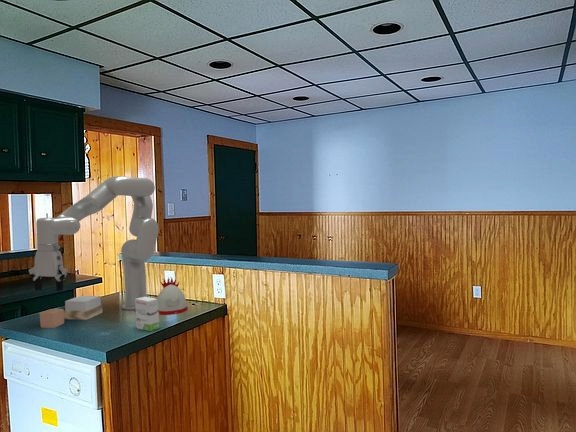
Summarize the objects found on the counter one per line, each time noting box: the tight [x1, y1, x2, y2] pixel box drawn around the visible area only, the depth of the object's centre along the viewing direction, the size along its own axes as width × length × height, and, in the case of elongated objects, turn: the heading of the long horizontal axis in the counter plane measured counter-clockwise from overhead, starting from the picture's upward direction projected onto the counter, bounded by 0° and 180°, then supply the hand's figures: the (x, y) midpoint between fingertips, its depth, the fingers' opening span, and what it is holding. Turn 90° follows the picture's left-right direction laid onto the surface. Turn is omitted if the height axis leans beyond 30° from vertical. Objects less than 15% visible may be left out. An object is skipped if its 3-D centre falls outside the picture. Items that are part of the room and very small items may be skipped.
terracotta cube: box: [39, 308, 65, 329], centre depth 171 cm, size 6×6×6 cm
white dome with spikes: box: [156, 277, 188, 316], centre depth 189 cm, size 14×14×15 cm
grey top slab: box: [64, 295, 102, 311], centre depth 184 cm, size 10×10×4 cm
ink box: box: [135, 296, 160, 332], centre depth 164 cm, size 9×5×12 cm, turn 55°
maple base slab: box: [64, 304, 103, 321], centre depth 184 cm, size 11×11×4 cm
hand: (49, 290), depth 170 cm, fingers open, 9 cm apart
